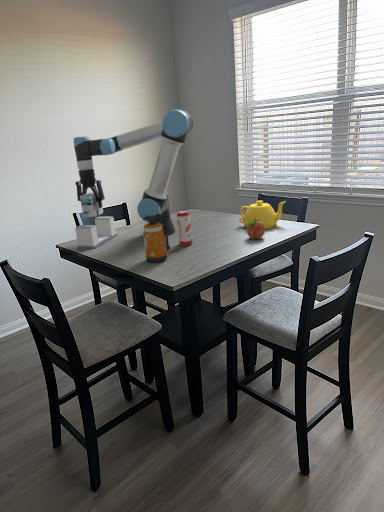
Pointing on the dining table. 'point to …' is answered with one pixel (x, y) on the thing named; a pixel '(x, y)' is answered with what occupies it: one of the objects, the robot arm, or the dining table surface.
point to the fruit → (255, 229)
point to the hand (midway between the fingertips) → (93, 214)
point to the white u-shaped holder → (96, 233)
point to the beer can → (184, 228)
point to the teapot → (261, 214)
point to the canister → (155, 238)
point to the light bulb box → (89, 205)
